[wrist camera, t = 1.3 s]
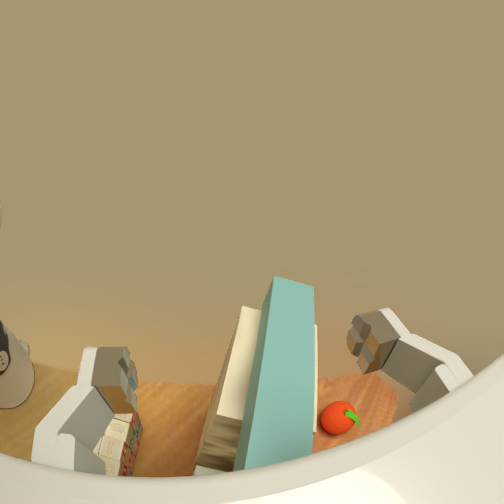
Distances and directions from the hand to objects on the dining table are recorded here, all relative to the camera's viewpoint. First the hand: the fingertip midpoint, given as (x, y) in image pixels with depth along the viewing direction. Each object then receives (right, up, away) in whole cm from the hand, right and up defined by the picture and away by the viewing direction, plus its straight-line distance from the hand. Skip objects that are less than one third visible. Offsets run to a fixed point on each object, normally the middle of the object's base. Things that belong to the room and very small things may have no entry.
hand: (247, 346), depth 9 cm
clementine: (+16, -32, +38) cm, 52 cm away
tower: (-5, -30, +31) cm, 44 cm away
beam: (+2, -9, +11) cm, 14 cm away
